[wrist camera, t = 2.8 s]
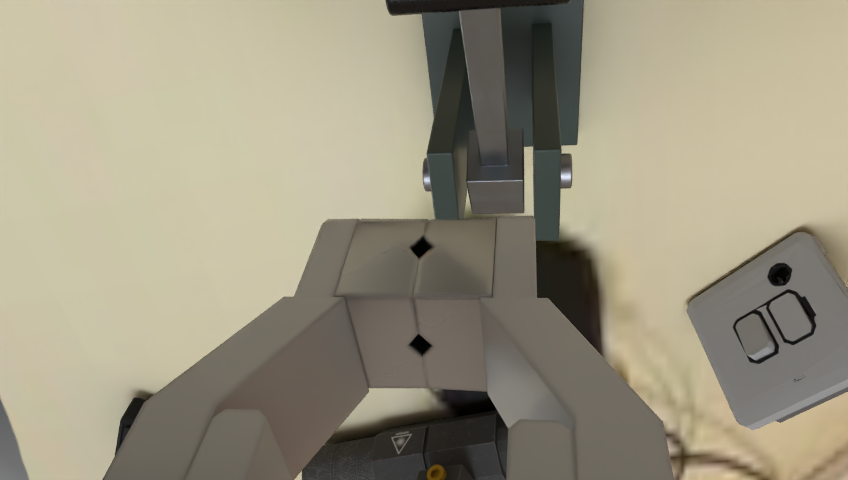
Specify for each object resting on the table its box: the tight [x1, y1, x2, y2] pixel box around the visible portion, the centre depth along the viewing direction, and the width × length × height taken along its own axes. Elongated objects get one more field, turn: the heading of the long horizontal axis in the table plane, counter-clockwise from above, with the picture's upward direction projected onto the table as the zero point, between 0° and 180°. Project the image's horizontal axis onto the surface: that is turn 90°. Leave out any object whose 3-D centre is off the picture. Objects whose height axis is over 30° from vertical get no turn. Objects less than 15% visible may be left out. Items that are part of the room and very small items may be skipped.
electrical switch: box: [687, 231, 848, 430], centre depth 40 cm, size 9×5×9 cm, turn 146°
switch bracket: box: [422, 0, 584, 241], centre depth 30 cm, size 10×8×13 cm
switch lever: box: [386, 0, 571, 214], centre depth 22 cm, size 12×5×2 cm, turn 6°
